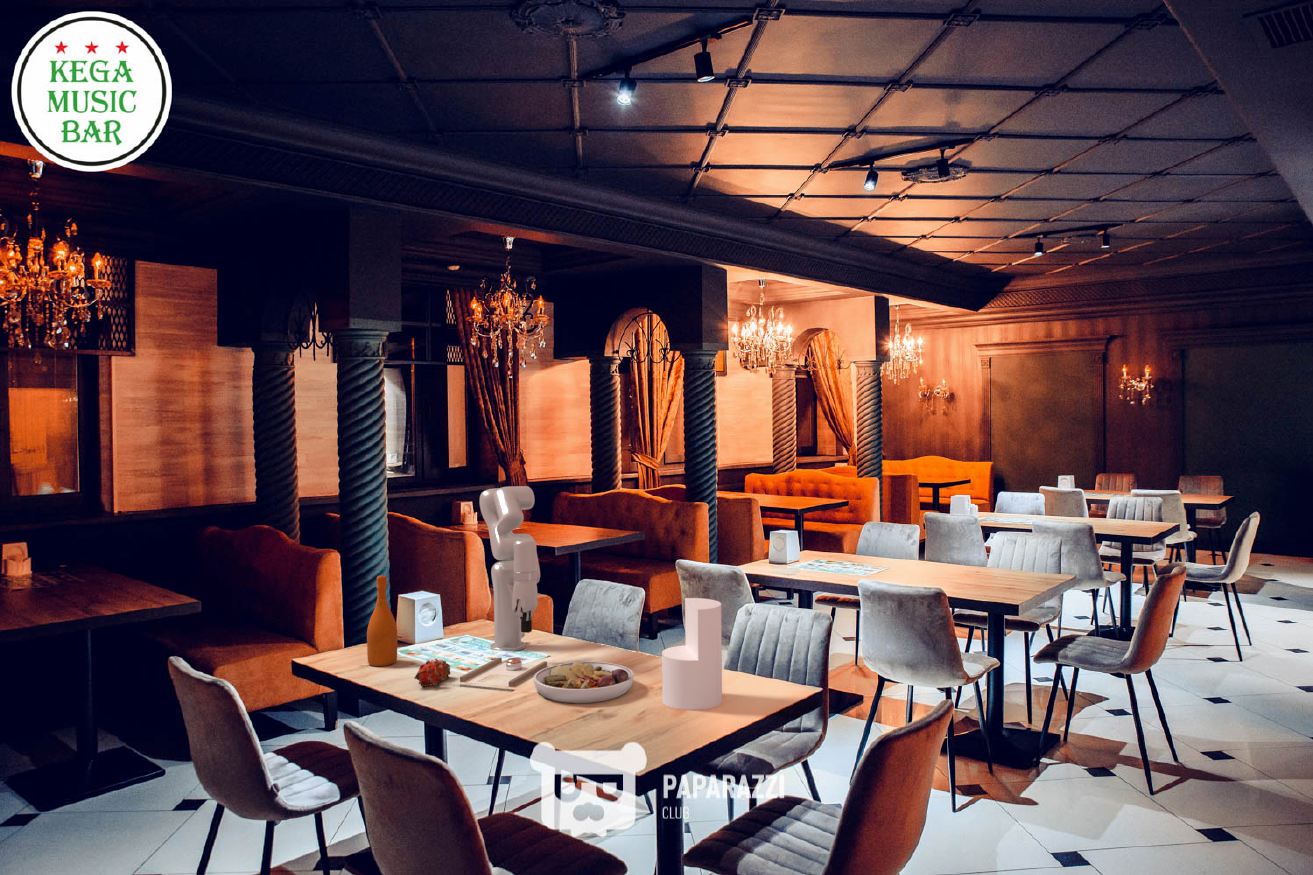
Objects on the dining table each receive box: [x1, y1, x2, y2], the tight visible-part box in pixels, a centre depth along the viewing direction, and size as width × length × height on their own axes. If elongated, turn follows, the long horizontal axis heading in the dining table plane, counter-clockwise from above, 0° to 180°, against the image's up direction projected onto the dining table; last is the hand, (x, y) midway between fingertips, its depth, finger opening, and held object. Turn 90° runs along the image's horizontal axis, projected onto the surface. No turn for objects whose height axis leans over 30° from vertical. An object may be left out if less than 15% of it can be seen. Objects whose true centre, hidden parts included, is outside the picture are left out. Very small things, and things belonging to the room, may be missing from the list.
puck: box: [505, 657, 523, 671], centre depth 277 cm, size 5×5×3 cm
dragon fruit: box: [414, 658, 451, 688], centre depth 265 cm, size 8×8×12 cm
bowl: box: [533, 660, 635, 704], centre depth 258 cm, size 30×30×8 cm
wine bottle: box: [366, 574, 398, 667], centre depth 290 cm, size 10×10×30 cm
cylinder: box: [661, 597, 723, 711], centre depth 247 cm, size 17×17×28 cm
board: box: [459, 657, 548, 693], centre depth 271 cm, size 24×18×3 cm
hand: (526, 631), depth 284 cm, fingers closed
